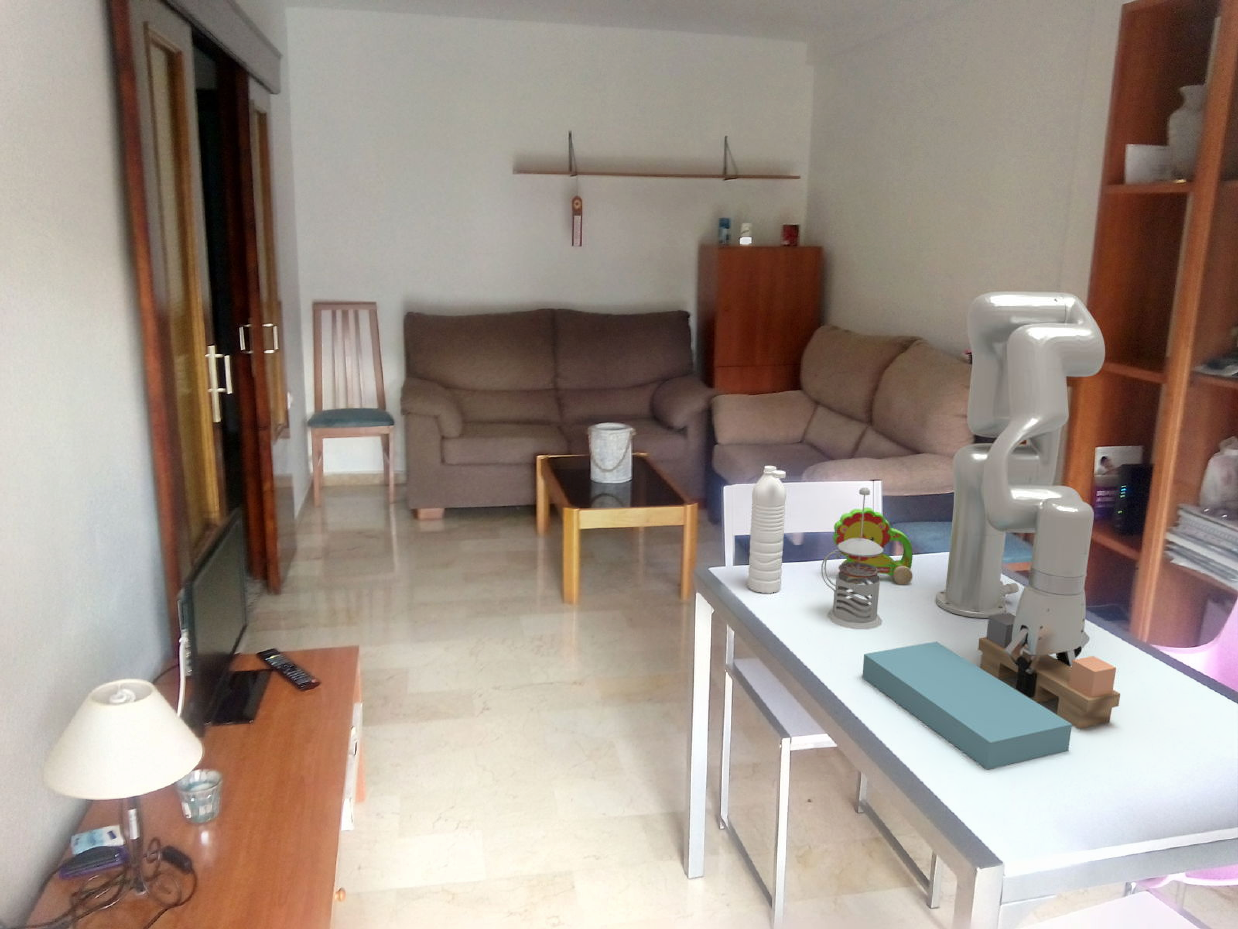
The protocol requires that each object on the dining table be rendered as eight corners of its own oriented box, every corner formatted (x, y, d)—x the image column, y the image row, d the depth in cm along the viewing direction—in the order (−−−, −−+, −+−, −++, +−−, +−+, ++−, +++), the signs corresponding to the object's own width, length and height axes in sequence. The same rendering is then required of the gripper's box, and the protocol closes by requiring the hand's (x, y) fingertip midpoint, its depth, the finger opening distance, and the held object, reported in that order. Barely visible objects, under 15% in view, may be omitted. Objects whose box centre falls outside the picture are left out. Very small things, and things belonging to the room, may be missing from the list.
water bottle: (743, 583, 188) (748, 463, 182) (773, 580, 189) (779, 461, 183) (758, 599, 180) (765, 474, 173) (790, 597, 181) (797, 472, 175)
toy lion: (906, 576, 193) (912, 506, 189) (912, 586, 187) (919, 514, 184) (828, 573, 194) (833, 503, 190) (832, 583, 188) (837, 511, 185)
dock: (934, 663, 153) (936, 641, 152) (1068, 750, 128) (1072, 724, 127) (862, 677, 149) (864, 654, 148) (987, 769, 123) (990, 742, 122)
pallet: (1004, 661, 155) (1008, 633, 154) (1115, 725, 135) (1120, 693, 134) (976, 666, 153) (979, 638, 151) (1083, 732, 133) (1088, 700, 132)
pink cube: (1089, 680, 137) (1093, 656, 136) (1112, 693, 134) (1116, 667, 133) (1068, 685, 136) (1072, 660, 135) (1091, 697, 132) (1095, 672, 131)
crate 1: (1005, 635, 153) (1008, 612, 152) (1023, 645, 149) (1026, 621, 148) (986, 638, 151) (988, 615, 150) (1004, 648, 148) (1007, 625, 147)
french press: (873, 633, 165) (884, 498, 159) (810, 619, 171) (819, 488, 165) (889, 615, 173) (900, 485, 167) (828, 602, 179) (837, 476, 173)
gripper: (1080, 565, 146) (1065, 670, 150) (992, 578, 140) (980, 687, 144) (1120, 582, 139) (1104, 692, 143) (1030, 596, 133) (1015, 710, 137)
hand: (1042, 688), depth 144 cm, fingers closed on pallet, 6 cm apart
